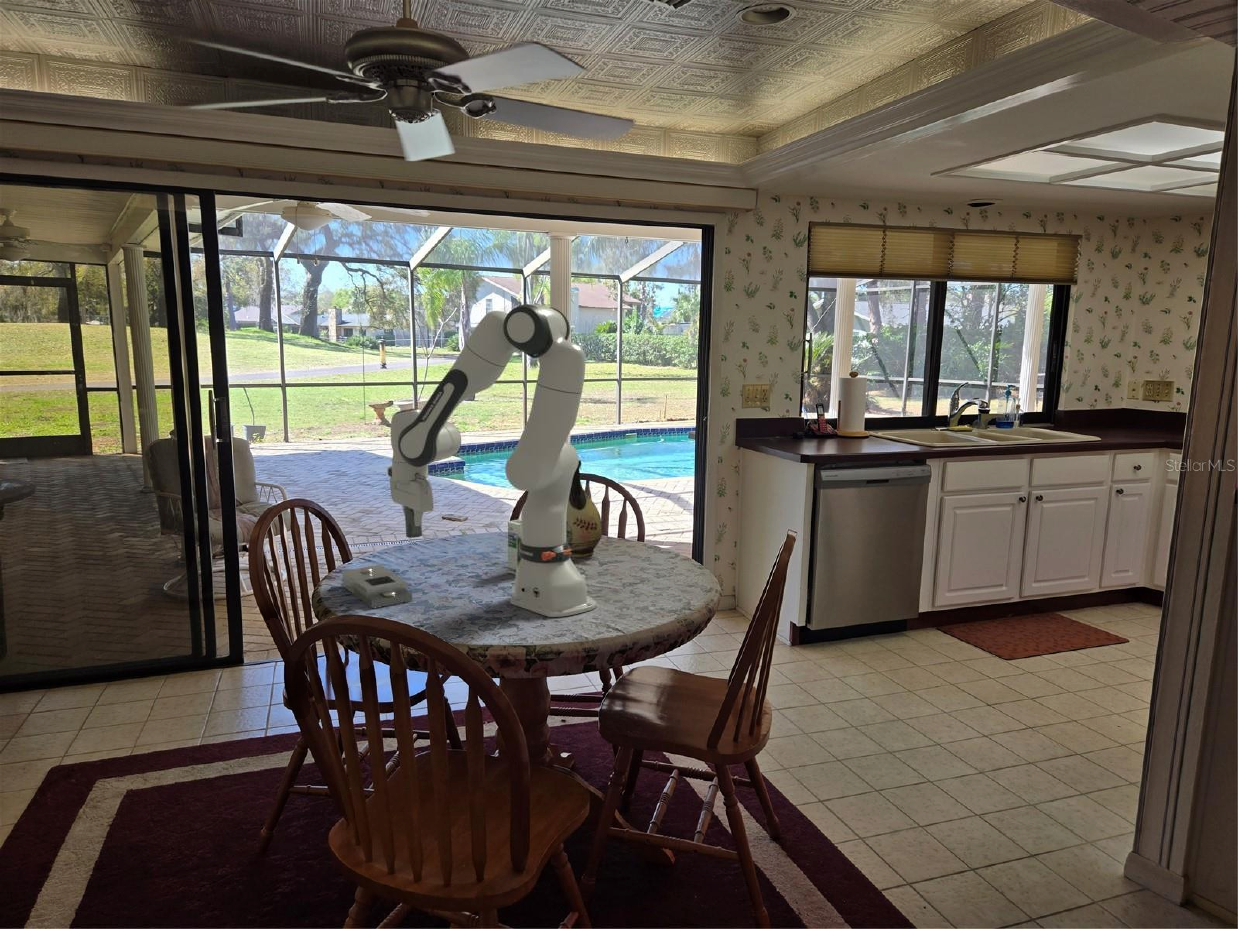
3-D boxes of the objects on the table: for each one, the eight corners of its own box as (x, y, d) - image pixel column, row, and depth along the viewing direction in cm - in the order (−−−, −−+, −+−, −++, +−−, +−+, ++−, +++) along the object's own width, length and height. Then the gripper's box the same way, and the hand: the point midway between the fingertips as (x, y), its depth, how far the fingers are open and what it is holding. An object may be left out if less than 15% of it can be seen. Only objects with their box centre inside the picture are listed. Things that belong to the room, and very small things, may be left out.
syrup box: (506, 572, 214) (506, 521, 212) (523, 568, 218) (523, 518, 216) (519, 577, 210) (518, 524, 208) (536, 572, 214) (536, 521, 212)
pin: (424, 536, 201) (422, 503, 200) (409, 538, 199) (407, 505, 198) (418, 533, 205) (416, 501, 203) (403, 535, 202) (401, 503, 201)
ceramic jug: (551, 548, 241) (550, 452, 236) (600, 547, 242) (600, 452, 238) (551, 562, 224) (551, 460, 220) (604, 561, 226) (605, 460, 221)
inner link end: (412, 601, 189) (411, 590, 189) (371, 609, 183) (371, 598, 183) (393, 587, 200) (392, 578, 199) (354, 594, 194) (353, 584, 193)
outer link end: (407, 597, 192) (407, 580, 191) (367, 605, 186) (366, 587, 185) (380, 579, 207) (380, 562, 206) (342, 585, 201) (342, 568, 200)
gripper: (438, 474, 193) (441, 528, 195) (407, 466, 209) (410, 516, 211) (414, 477, 189) (417, 532, 191) (384, 468, 206) (387, 519, 208)
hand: (413, 524), depth 201 cm, fingers closed on pin, 4 cm apart
